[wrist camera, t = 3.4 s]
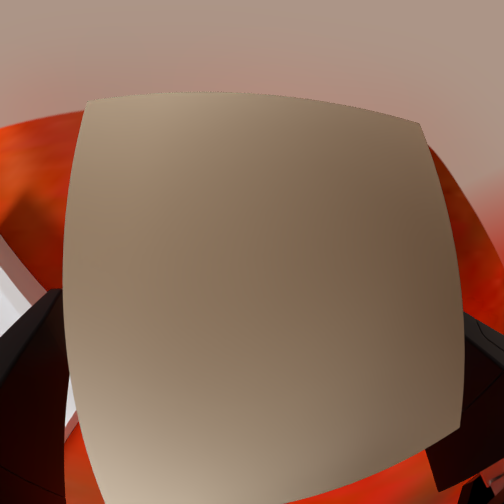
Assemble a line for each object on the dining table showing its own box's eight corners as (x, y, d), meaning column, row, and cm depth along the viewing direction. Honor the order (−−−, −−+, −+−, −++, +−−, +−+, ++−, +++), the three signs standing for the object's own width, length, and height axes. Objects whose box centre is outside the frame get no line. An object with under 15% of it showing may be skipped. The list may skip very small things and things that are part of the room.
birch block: (252, 344, 15) (459, 427, 2) (175, 350, 14) (109, 512, 2) (245, 269, 16) (419, 124, 3) (170, 273, 15) (87, 101, 2)
